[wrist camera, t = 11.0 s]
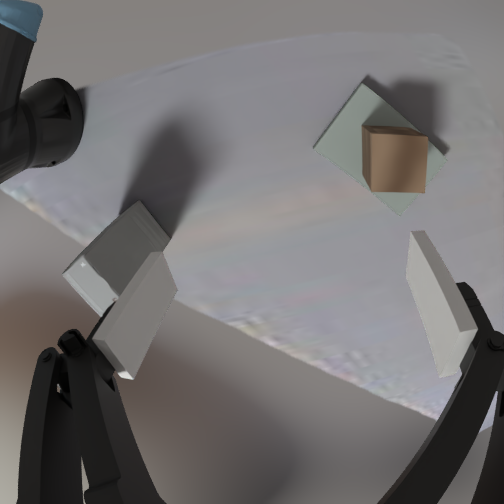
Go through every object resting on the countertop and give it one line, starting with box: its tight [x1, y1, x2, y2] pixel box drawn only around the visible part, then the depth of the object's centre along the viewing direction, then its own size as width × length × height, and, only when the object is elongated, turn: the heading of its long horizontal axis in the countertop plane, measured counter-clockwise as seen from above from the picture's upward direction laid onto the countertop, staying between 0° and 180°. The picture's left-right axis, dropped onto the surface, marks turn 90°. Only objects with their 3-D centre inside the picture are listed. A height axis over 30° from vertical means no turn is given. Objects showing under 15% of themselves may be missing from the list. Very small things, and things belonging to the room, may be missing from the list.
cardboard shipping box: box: [361, 125, 428, 193], centre depth 28 cm, size 6×6×6 cm
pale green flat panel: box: [313, 83, 447, 216], centre depth 30 cm, size 14×10×6 cm
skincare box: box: [62, 200, 171, 317], centre depth 38 cm, size 8×7×16 cm
